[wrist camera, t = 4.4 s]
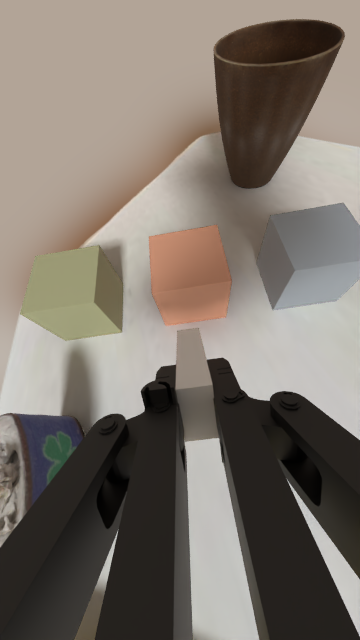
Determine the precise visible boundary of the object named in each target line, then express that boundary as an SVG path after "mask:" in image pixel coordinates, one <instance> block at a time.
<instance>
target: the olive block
mask: <svg viewBox="0 0 360 640" xmlns="http://www.w3.org/2000/svg"><path fill="white" fill-rule="evenodd" d="M122 311H123V283H122V282H121V280H120V279H119V277H118V275H117V274H116V272H115V270H114V269H113V267H112V265H111V264H110V262H109V260H108V259H107V257H106V256H105V254H104V252H103V251H102V249H101V247H100V246H99V245H98V246H92V247H86V248H80V249H75V250H69V251H63V252H58V253H52V254H46V255H40V256H36V257H35V260H34V264H33V268H32V271H31V275H30V279H29V282H28V286H27V290H26V294H25V297H24V301H23V305H22V308H21V312H20V314H21V315H23V316H24V317H26V318H28V319H29V320H31V321H33V322H35V323H36V324H38V325H40V326H41V327H43V328H45V329H46V330H48V331H50V332H52V333H53V334H55V335H57V336H58V337H60V338H62V339H63V340H65V341H67V340H74V339H81V338H87V337H94V336H101V335H108V334H115V333H121V332H122Z"/></svg>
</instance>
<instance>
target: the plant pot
mask: <svg viewBox="0 0 360 640" xmlns="http://www.w3.org/2000/svg"><path fill="white" fill-rule="evenodd" d="M344 37H345V35H344V31H343V30H342V29H341V28H340V27H338V26H336V25H335V24H332V23H328V22H324V21H319V20H306V19H295V20H294V19H293V20H280V21H272V22H266V23H261V24H256V25H252V26H248V27H245V28H242V29H239V30H236V31H234V32H232V33H229V34H228V35H226V36H224V37H223V38H221V39H220V40H219V41H218V42H217V43H216V44H215V46H214V65H215V79H216V92H217V103H218V112H219V121H220V127H221V134H222V140H223V146H224V151H225V156H226V160H227V165H228V169H229V173H230V176H231V180H232V181H233V182H234V183H235V184H236V185H238V186H240V187H244V188H257V187H261V186H263V185H265V184H267V183H268V182H269V181H270V180H271V178H272V177H273V175H274V174H275V172H276V171H277V169H278V168H279V166H280V165H281V163H282V161H283V160H284V158H285V157H286V155H287V153H288V152H289V150H290V148H291V146H292V145H293V143H294V141H295V139H296V138H297V136H298V134H299V132H300V130H301V128H302V126H303V125H304V123H305V121H306V119H307V117H308V115H309V113H310V111H311V109H312V107H313V105H314V103H315V101H316V99H317V97H318V95H319V93H320V91H321V88H322V87H323V84H324V82H325V80H326V78H327V76H328V74H329V71H330V69H331V67H332V65H333V63H334V61H335V58H336V56H337V54H338V51H339V49H340V47H341V45H342V42H343V40H344Z"/></svg>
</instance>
